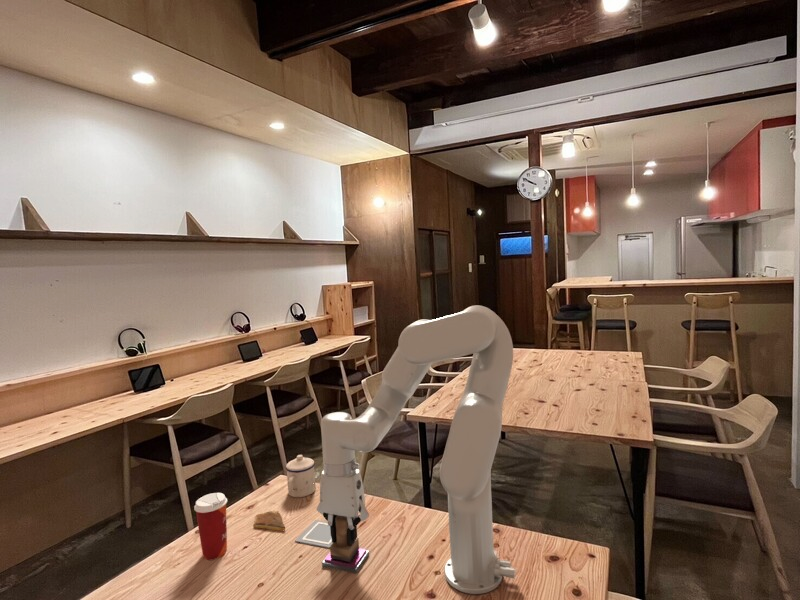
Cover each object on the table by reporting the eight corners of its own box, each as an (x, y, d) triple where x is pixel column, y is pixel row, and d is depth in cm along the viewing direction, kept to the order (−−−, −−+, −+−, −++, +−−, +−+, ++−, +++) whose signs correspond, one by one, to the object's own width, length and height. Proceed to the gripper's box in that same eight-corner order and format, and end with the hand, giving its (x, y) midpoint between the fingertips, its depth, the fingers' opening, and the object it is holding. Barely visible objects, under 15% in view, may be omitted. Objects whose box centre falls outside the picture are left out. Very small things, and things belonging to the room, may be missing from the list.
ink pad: (369, 554, 106) (368, 548, 106) (356, 573, 99) (355, 567, 99) (336, 548, 109) (336, 542, 109) (322, 566, 102) (321, 560, 102)
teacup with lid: (296, 483, 146) (293, 449, 145) (321, 485, 143) (318, 450, 143) (277, 501, 134) (274, 465, 133) (304, 504, 132) (301, 466, 131)
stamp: (359, 548, 105) (356, 513, 105) (349, 561, 101) (347, 525, 100) (340, 545, 107) (338, 510, 107) (330, 557, 103) (328, 521, 102)
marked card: (350, 526, 118) (350, 525, 118) (332, 548, 109) (332, 547, 109) (315, 520, 122) (315, 519, 122) (295, 541, 113) (294, 540, 113)
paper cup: (236, 551, 110) (232, 497, 110) (206, 567, 105) (201, 510, 104) (222, 539, 116) (218, 488, 115) (193, 554, 110) (188, 500, 109)
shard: (286, 533, 118) (285, 526, 118) (256, 542, 114) (256, 535, 114) (279, 514, 128) (278, 508, 127) (251, 522, 124) (251, 516, 124)
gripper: (378, 463, 103) (382, 537, 104) (317, 456, 109) (322, 526, 110) (364, 477, 96) (369, 557, 97) (300, 469, 102) (305, 544, 103)
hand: (344, 540), depth 104 cm, fingers closed on stamp, 3 cm apart
